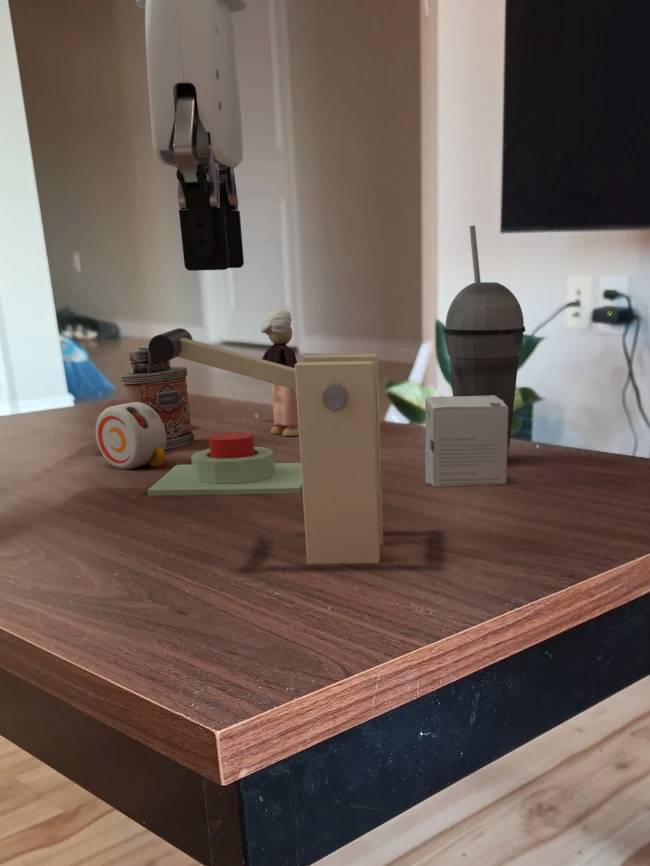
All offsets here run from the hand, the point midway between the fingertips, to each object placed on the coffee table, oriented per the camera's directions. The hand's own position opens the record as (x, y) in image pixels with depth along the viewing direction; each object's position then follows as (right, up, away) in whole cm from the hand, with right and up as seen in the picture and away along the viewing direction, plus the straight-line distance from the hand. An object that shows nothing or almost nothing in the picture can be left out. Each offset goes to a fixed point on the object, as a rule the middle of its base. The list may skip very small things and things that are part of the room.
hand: (215, 266), depth 78 cm
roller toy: (-11, -11, +20) cm, 25 cm away
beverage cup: (+22, -10, +19) cm, 30 cm away
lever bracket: (+11, -25, -13) cm, 30 cm away
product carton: (+19, -16, +7) cm, 26 cm away
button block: (0, -16, +7) cm, 17 cm away
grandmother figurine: (+1, -3, +36) cm, 36 cm away
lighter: (-11, -6, +30) cm, 32 cm away
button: (0, -13, +6) cm, 14 cm away
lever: (+6, -15, -17) cm, 24 cm away
